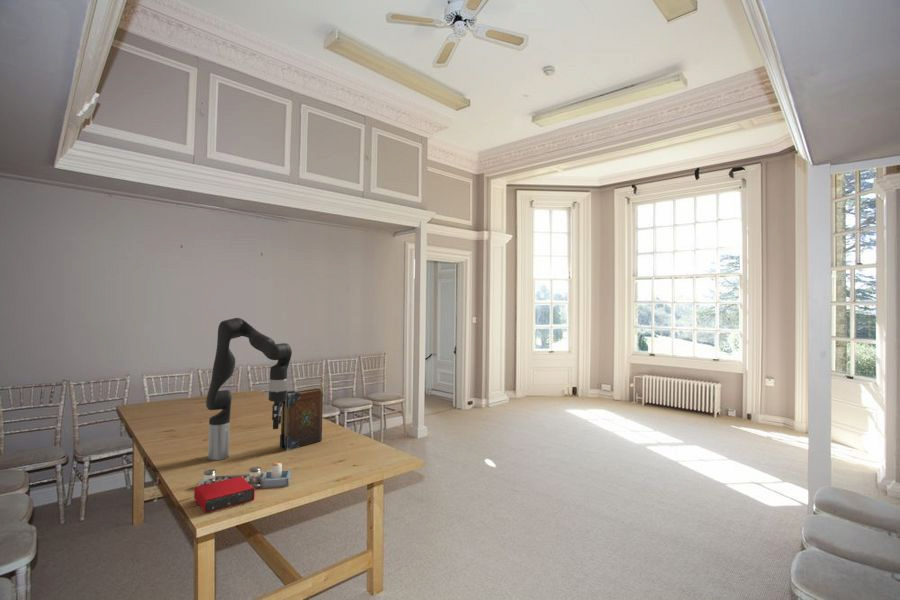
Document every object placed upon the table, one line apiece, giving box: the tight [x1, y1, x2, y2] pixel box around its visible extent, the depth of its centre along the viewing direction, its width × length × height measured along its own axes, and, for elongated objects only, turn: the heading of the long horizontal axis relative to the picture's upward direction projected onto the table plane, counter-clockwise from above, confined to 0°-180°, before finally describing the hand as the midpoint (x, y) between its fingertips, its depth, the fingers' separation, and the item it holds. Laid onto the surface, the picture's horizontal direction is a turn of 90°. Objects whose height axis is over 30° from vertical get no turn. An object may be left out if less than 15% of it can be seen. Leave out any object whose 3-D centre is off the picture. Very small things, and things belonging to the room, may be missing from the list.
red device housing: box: [193, 476, 256, 514], centre depth 176 cm, size 18×14×5 cm
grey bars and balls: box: [196, 466, 264, 489], centre depth 191 cm, size 19×26×6 cm
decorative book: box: [279, 387, 324, 452], centre depth 249 cm, size 23×7×30 cm, turn 143°
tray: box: [260, 469, 292, 489], centre depth 195 cm, size 11×11×3 cm
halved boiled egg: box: [270, 461, 283, 479], centre depth 195 cm, size 4×4×7 cm
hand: (276, 426), depth 196 cm, fingers open, 8 cm apart
